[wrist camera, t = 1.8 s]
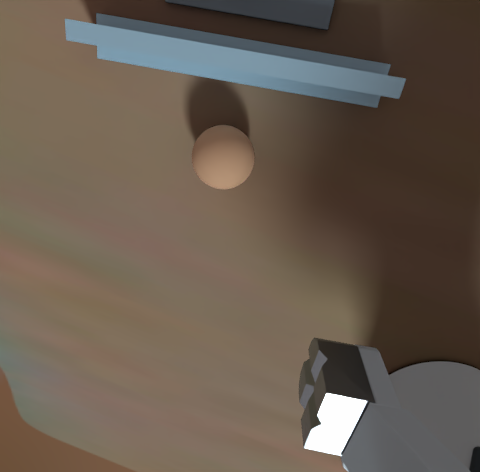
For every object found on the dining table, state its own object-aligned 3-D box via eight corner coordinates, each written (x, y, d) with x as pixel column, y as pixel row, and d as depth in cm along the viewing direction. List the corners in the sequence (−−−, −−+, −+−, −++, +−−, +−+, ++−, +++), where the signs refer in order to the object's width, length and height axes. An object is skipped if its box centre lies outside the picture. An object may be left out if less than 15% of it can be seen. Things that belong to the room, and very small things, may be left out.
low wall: (374, 106, 26) (394, 113, 22) (102, 58, 27) (67, 55, 22) (387, 64, 25) (411, 62, 21) (101, 14, 26) (63, 1, 21)
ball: (251, 183, 30) (246, 203, 26) (196, 174, 30) (182, 191, 26) (261, 126, 28) (258, 136, 23) (202, 116, 28) (188, 124, 24)
